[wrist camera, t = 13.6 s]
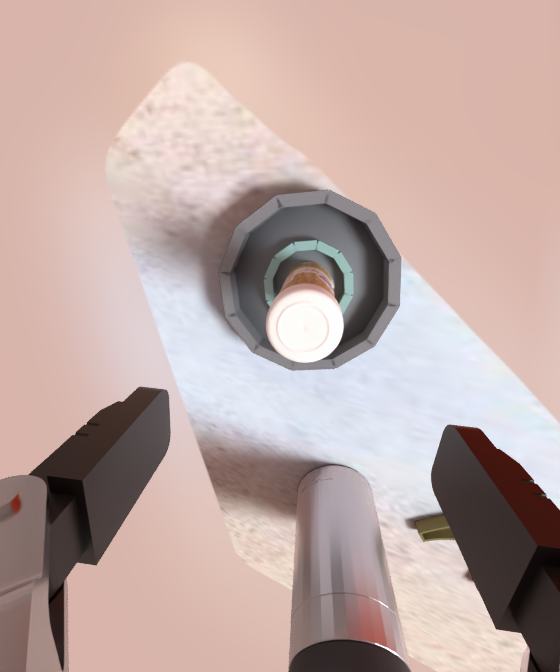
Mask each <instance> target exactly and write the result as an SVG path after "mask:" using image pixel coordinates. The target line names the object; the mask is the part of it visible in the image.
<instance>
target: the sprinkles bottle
mask: <svg viewBox="0 0 560 672" xmlns="http://www.w3.org/2000/svg"><path fill="white" fill-rule="evenodd" d="M343 327H344V324H343V317H342V312H341V309H340V306H339V304H338V302H337V300H336V299H335V295H334V291H333V287H332V281H331V277H330V275H329V273H328V271H327V270H326V269H325V268H324V267H323V266H321V265H319V264H317V263H314V262H303V263H300V264H298V265H296V266H295V267H293V268H292V269H291V270H290V271H289V273H288V275H287V277H286V280H285V282H284V284H283V286H282V289H281V291H280V293H279V294H278V295H277V296H276V298H275V299H274V301H273V302H272V304H271V306H270V308H269V311H268V314H267V318H266V332H267V336H268V339H269V341H270V343H271V345H272V346H273V347H274V349H275V350H276V351H277V352H278V353H279V354H280V355H282V356H284V357H285V358H287V359H289V360H292V361H295V362H302V363H308V362H314V361H318V360H320V359H323V358H324V357H326V356H328V355H329V354H330V353H331V352H332V351H333V350H334V349H335V348H336V347H337V345H338V344H339V342H340V340H341V337H342V334H343Z"/></svg>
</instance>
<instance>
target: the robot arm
mask: <svg viewBox="0 0 560 672" xmlns="http://www.w3.org/2000/svg"><path fill="white" fill-rule="evenodd" d="M169 442H170V411H169V395H168V392H167V390H164V389H156V388H148V387H139V388H137V389H136V390H135V391H134V392H133V393H132V394H131V395H130V396H129V397H128V398H127V399H126V400H125V401H124V402H119V401H118V402H116V403H114V404H112V405H110V406H108V407H106V408H104V409H102V410H100V411H99V412H98V413H97V414H96V415H95V416H93V417H92V418H91V419H90V420H89V421H88V422H87V424H86V425H84V426H82V427H81V428H80V429H79V430H78V431H77V432H76V434H75V435H72V436H71V437H70V438H69V439H68V440H67V441H66V442H64V443H63V444H62V445H61V446H60V447H59V448H58V449H57V450H55V451H54V452H53V453H52V454H51V455H50V456H49V457H48V458H47V459H45V460H44V461H43V462H42V463H41V464H40V465H39V466H38V467H36V468H35V469H34V470H33V471H32V472H31V473H30V474H29V475H19V476H12V477H8V478H4V479H1V480H0V672H69V671H68V670H69V668H68V593H67V592H68V588H67V580H66V577H67V576H68V575H69V573H70V571H71V570H72V569H73V567H74V566H75V564H76V563H77V562H78V563H84V564H91V565H97V563H98V562H99V560H100V559H101V557H102V555H103V554H104V552H105V551H106V549H107V547H108V546H109V544H110V543H111V541H112V539H113V538H114V536H115V535H116V533H117V531H118V530H119V528H120V527H121V525H122V523H123V522H124V520H125V519H126V517H127V515H128V514H129V512H130V511H131V509H132V507H133V506H134V504H135V503H136V501H137V499H138V498H139V496H140V494H141V493H142V491H143V490H144V488H145V487H146V485H147V483H148V482H149V480H150V479H151V477H152V475H153V474H154V472H155V471H156V469H157V467H158V466H159V464H160V463H161V461H162V459H163V458H164V456H165V454H166V452H167V450H168V446H169ZM431 482H432V488H433V491H434V494H435V496H436V498H437V500H438V503H439V505H440V507H441V509H442V511H443V514H444V516H445V518H446V520H447V522H448V524H449V527H450V529H451V531H452V533H453V535H454V538H455V540H456V542H457V544H458V546H459V549H460V551H461V553H462V555H463V557H464V560H465V562H466V564H467V566H468V568H469V571H470V573H471V575H472V577H473V579H474V582H475V584H476V586H477V588H478V590H479V593H480V595H481V597H482V599H483V601H484V604H485V606H486V608H487V610H488V612H489V615H490V617H491V619H492V621H493V623H494V626H495V628H496V629H498V630H505V631H511V632H518V633H521V634H522V635H523V637H524V639H525V641H526V643H527V645H528V646H527V648H526V650H525V651H524V653H523V657H522V662H521V669H520V672H560V510H559V509H558V508H557V507H556V505H555V504H554V503H553V502H552V501H551V500H550V499H548V498H547V497H546V494H545V493H544V491H543V490H542V489H541V488H540V487H539V486H538V485H537V484H534V480H533V479H532V478H531V476H530V475H529V474H528V473H527V472H526V471H525V469H524V468H523V467H522V466H521V465H520V464H519V463H518V462H516V461H515V460H514V459H512V458H511V457H510V456H508V455H507V454H506V453H504V452H503V451H501V450H500V449H496V447H495V446H494V445H493V444H492V442H491V441H490V440H489V439H488V438H487V436H486V435H485V434H484V433H483V431H482V430H480V429H479V428H474V427H466V426H457V425H447V426H446V427H445V429H444V431H443V434H442V438H441V441H440V444H439V447H438V451H437V454H436V457H435V461H434V464H433V467H432V472H431ZM289 672H412V671H411V666H410V662H409V657H408V653H407V648H406V644H405V639H404V635H403V630H402V626H401V622H400V617H399V613H398V608H397V604H396V599H395V595H394V590H393V586H392V581H391V576H390V572H389V567H388V563H387V558H386V554H385V549H384V545H383V540H382V536H381V531H380V527H379V522H378V517H377V512H376V508H375V503H374V499H373V494H372V490H371V487H370V485H369V483H368V481H367V480H366V479H365V478H364V477H363V476H362V475H361V474H360V473H358V472H356V471H355V470H353V469H350V468H347V467H343V466H324V467H320V468H317V469H315V470H313V471H311V472H310V473H308V474H307V475H306V476H305V477H304V478H303V479H302V481H301V482H300V484H299V488H298V499H297V516H296V533H295V552H294V571H293V591H292V610H291V633H290V652H289Z"/></svg>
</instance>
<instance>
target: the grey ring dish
mask: <svg viewBox="0 0 560 672" xmlns="http://www.w3.org/2000/svg"><path fill="white" fill-rule="evenodd" d="M400 257H401V256H400V254H399V252H398V251H397V249H396V247H395V246H394V244H393V242H392V240H391V239H390V237H389V235H388V233H387V232H386V230H385V228H384V227H383V225H382V223H381V221H380V220H379V218H378V216H377V215H376V214H375V213H374V212H372V211H370V210H368V209H366V208H364V207H362V206H361V205H359V204H357V203H355V202H353V201H351V200H349V199H347V198H345V197H343V196H341V195H339V194H337V193H335V192H333V191H331V190H329V191H328V190H319V191H310V192H301V193H291V194H282V195H277V196H274V197H273V198H272V199H271V200H269V201H268V202H267V203H266V204H264V205H263V206H262V207H260V208H259V209H258V210H257V211H255V212H254V213H253V214H251V215H250V216H249V217H248V218H246V219H245V220H244V221H243V222H241V223H240V224H239V225H237V226H236V228H235V230H234V233H233V235H232V238H231V241H230V243H229V246H228V248H227V251H226V254H225V256H224V259H223V261H222V264H221V266H220V269H219V272H218V273H219V279H220V286H221V293H222V299H223V306H224V312H225V317H226V319H227V320H228V322H229V323H230V324H231V325H232V327H233V328H234V329H235V331H236V332H237V333H238V335H239V336H240V337H241V338H242V340H243V341H244V342H245V344H246V345H247V346H248V348H249V349H250V350H251V352H253V353H255V354H257V355H259V356H261V357H263V358H265V359H268V360H270V361H272V362H274V363H276V364H278V365H281V366H283V367H285V368H287V369H289V370H316V369H335V368H338V367H339V366H341V365H343V364H345V363H346V362H348V361H350V360H352V359H353V358H355V357H357V356H359V355H360V354H362V353H364V352H366V351H367V350H369V349H371V348H373V347H374V346H375V345H376V343H377V342H378V340H379V339H380V337H381V335H382V334H383V332H384V331H385V329H386V328H387V326H388V324H389V323H390V321H391V320H392V318H393V316H394V315H395V313H396V312H397V310H398V308H399V306H400V283H401V258H400ZM303 262H314V263H317V264H319V265H321V266H323V267H324V268H325V269H326V270H327V271H328V273H329V275H330V277H331V281H332V287H333V291H334V295H335V299H336V300H337V302H338V304H339V306H340V309H341V312H342V317H343V324H344V327H343V334H342V337H341V340H340V342H339V344H338V345H337V347H336V348H335V349H334V350H333V351H332V352H331V353H330V354H329V355H328V356H326V357H324V358H323V359H320V360H318V361H314V362H308V363H302V362H295V361H292V360H289V359H287V358H285V357H284V356H282V355H280V354H279V353H278V352H277V351H276V350H275V349H274V347H273V346H272V345H271V343H270V341H269V339H268V336H267V332H266V318H267V314H268V311H269V308H270V306H271V304H272V302H273V301H274V299H275V298H276V296H277V295H278V294H279V293H280V291H281V289H282V286H283V284H284V282H285V280H286V277H287V275H288V273H289V271H290V270H291V269H292V268H293V267H295V266H296V265H298V264H300V263H303Z"/></svg>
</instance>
